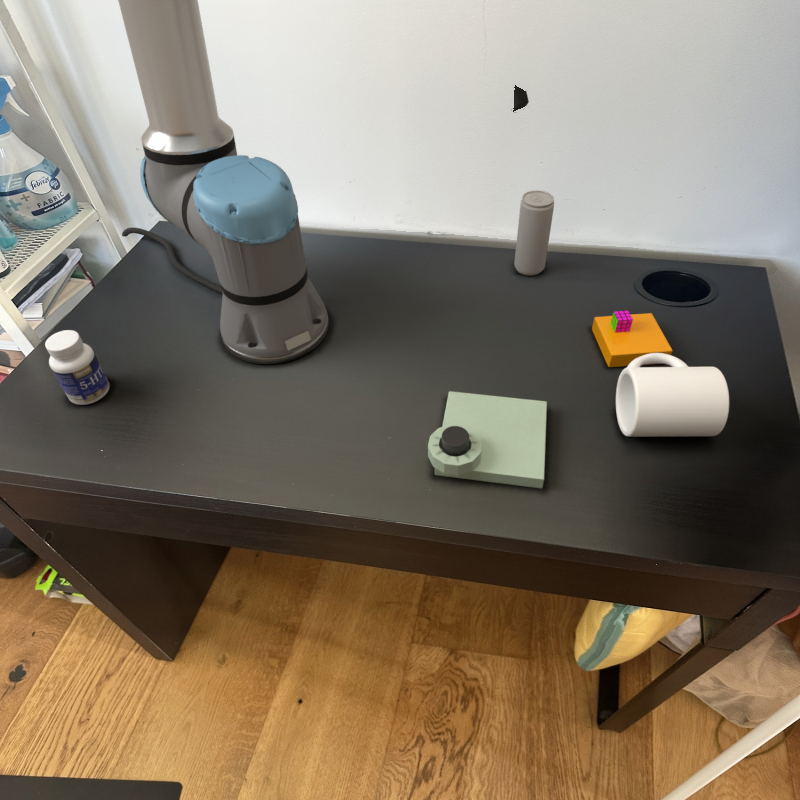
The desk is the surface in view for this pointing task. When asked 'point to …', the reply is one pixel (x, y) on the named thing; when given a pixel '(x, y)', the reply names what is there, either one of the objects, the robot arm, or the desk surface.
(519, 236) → the beverage can
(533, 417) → the scale
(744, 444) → the desk surface
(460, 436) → the tare button
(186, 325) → the desk surface
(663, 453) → the desk surface
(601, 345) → the orange square tile
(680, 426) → the mug
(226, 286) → the robot arm
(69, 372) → the pill bottle
